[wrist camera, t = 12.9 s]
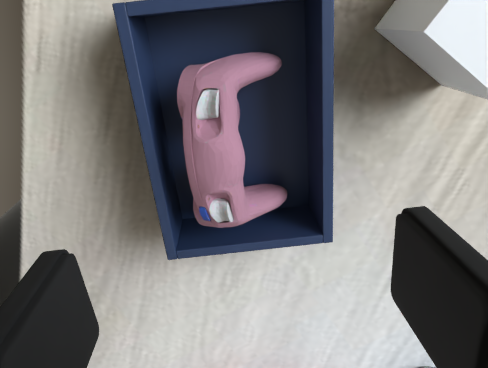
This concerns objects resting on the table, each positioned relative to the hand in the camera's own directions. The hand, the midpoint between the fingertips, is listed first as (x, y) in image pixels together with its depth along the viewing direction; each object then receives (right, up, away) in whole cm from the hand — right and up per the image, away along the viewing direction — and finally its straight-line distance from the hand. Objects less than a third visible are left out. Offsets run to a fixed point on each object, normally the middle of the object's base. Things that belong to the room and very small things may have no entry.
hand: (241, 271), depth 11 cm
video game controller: (0, +6, +13) cm, 14 cm away
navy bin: (0, +7, +13) cm, 15 cm away
